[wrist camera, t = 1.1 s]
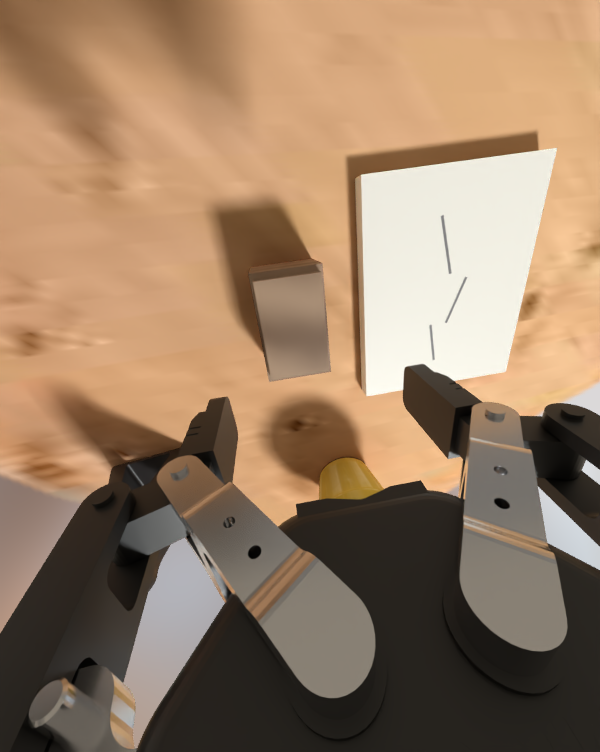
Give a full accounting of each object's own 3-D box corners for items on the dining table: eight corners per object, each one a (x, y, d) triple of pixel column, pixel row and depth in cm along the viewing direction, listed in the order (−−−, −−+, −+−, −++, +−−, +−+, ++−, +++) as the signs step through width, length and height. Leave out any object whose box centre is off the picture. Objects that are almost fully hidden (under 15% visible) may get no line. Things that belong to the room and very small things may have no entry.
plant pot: (298, 501, 39) (308, 578, 30) (313, 442, 35) (330, 511, 26) (367, 504, 41) (396, 576, 32) (390, 448, 37) (430, 514, 28)
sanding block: (250, 267, 25) (247, 275, 20) (311, 258, 25) (324, 264, 20) (268, 358, 29) (269, 386, 24) (320, 350, 29) (332, 375, 24)
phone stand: (187, 445, 33) (151, 547, 22) (207, 481, 35) (183, 587, 25) (113, 466, 33) (40, 577, 22) (138, 500, 35) (85, 614, 25)
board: (354, 178, 23) (361, 174, 21) (539, 153, 24) (557, 148, 22) (361, 389, 32) (366, 396, 31) (495, 365, 33) (505, 371, 31)
